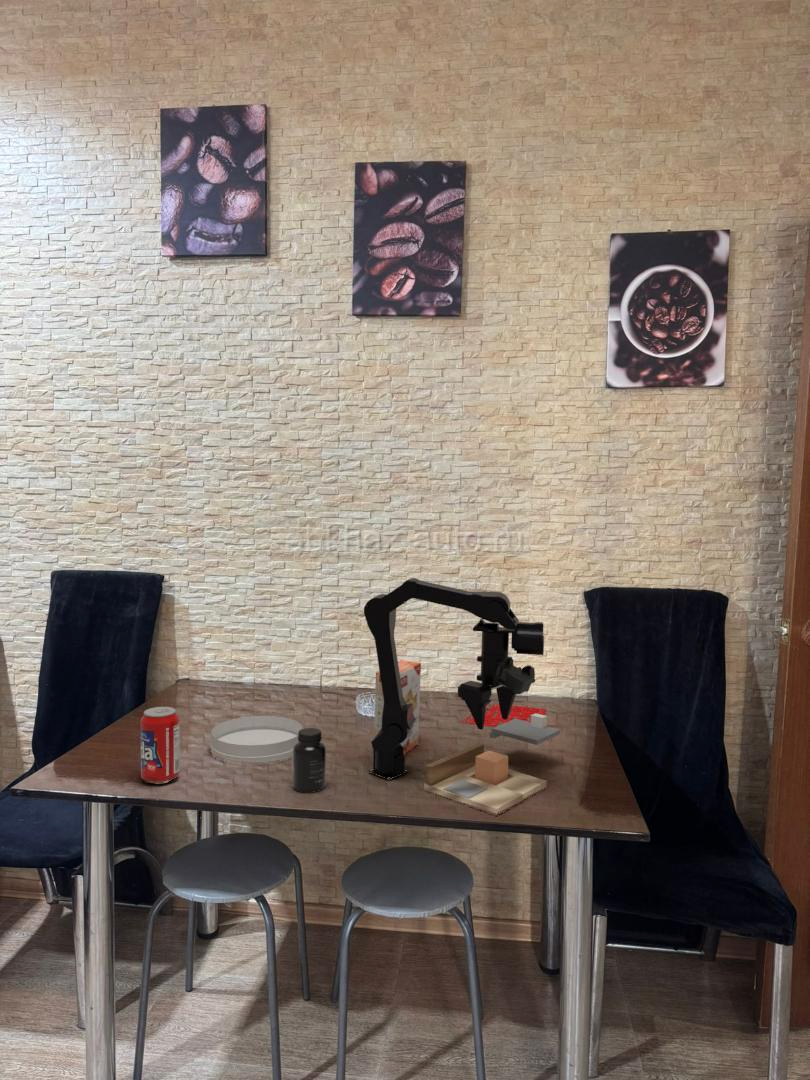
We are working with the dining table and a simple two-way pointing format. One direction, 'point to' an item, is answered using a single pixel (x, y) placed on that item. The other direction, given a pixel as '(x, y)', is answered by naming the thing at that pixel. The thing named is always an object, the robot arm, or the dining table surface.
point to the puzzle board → (477, 782)
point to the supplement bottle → (309, 761)
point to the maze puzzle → (524, 712)
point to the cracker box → (411, 694)
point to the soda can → (160, 744)
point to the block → (491, 767)
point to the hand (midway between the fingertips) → (492, 724)
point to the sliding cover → (526, 730)
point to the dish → (255, 738)
